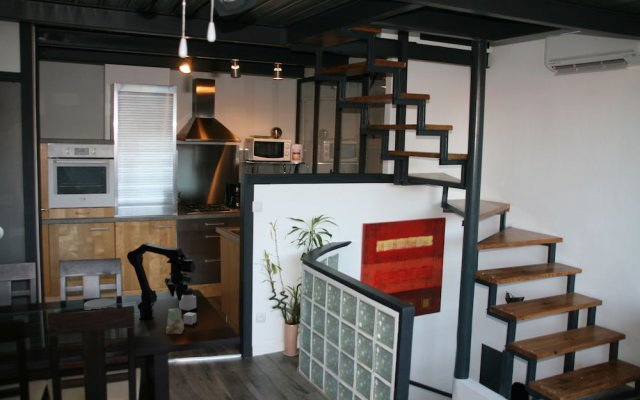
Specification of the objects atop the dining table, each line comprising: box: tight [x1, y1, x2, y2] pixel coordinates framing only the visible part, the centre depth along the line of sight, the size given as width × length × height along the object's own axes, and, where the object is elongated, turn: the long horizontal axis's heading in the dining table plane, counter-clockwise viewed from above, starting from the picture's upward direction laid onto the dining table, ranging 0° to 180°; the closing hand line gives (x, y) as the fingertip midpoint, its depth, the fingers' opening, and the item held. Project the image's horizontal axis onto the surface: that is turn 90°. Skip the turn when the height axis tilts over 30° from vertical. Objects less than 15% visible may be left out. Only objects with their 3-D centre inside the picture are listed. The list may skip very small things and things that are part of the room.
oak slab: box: [165, 322, 185, 335], centre depth 308 cm, size 8×8×4 cm
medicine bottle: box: [178, 287, 197, 312], centre depth 346 cm, size 7×7×12 cm
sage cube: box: [167, 307, 182, 321], centre depth 308 cm, size 5×5×5 cm
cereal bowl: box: [83, 298, 117, 311], centre depth 333 cm, size 17×17×7 cm
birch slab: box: [166, 317, 184, 329], centre depth 308 cm, size 7×7×4 cm
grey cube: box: [183, 311, 197, 325], centre depth 322 cm, size 5×5×5 cm
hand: (176, 298), depth 322 cm, fingers open, 9 cm apart
